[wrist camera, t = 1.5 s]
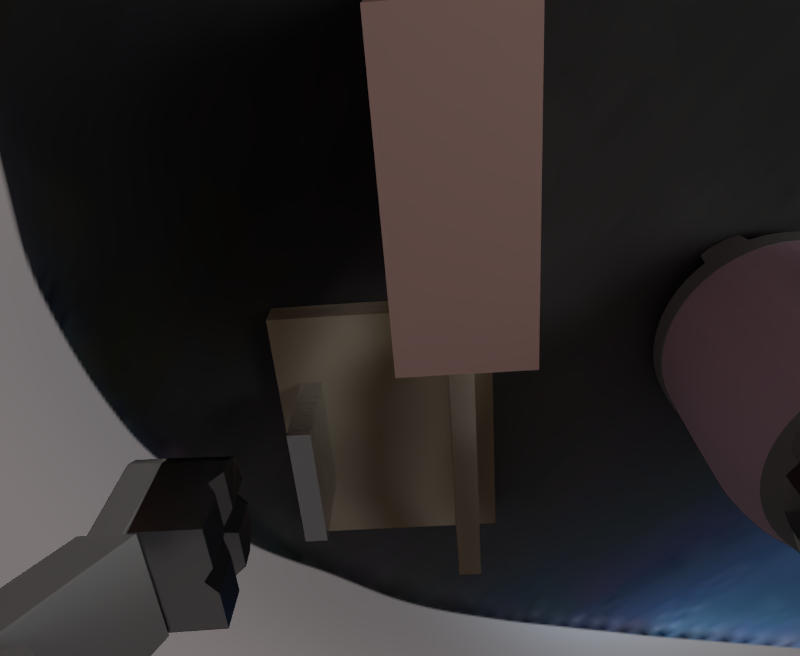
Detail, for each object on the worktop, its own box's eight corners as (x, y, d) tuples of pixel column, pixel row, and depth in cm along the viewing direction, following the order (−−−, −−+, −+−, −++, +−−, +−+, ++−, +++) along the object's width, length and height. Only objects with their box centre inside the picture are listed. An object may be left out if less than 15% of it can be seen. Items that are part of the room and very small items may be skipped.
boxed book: (493, -24, 31) (546, -14, 19) (497, 232, 37) (540, 369, 25) (379, -14, 32) (358, 2, 19) (400, 239, 37) (394, 378, 25)
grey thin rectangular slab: (321, 381, 40) (310, 434, 35) (336, 480, 43) (327, 540, 38) (300, 382, 40) (286, 435, 35) (316, 481, 43) (305, 541, 38)
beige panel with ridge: (488, 294, 39) (501, 353, 33) (493, 506, 45) (504, 585, 40) (270, 308, 39) (246, 368, 33) (307, 515, 46) (292, 595, 40)
